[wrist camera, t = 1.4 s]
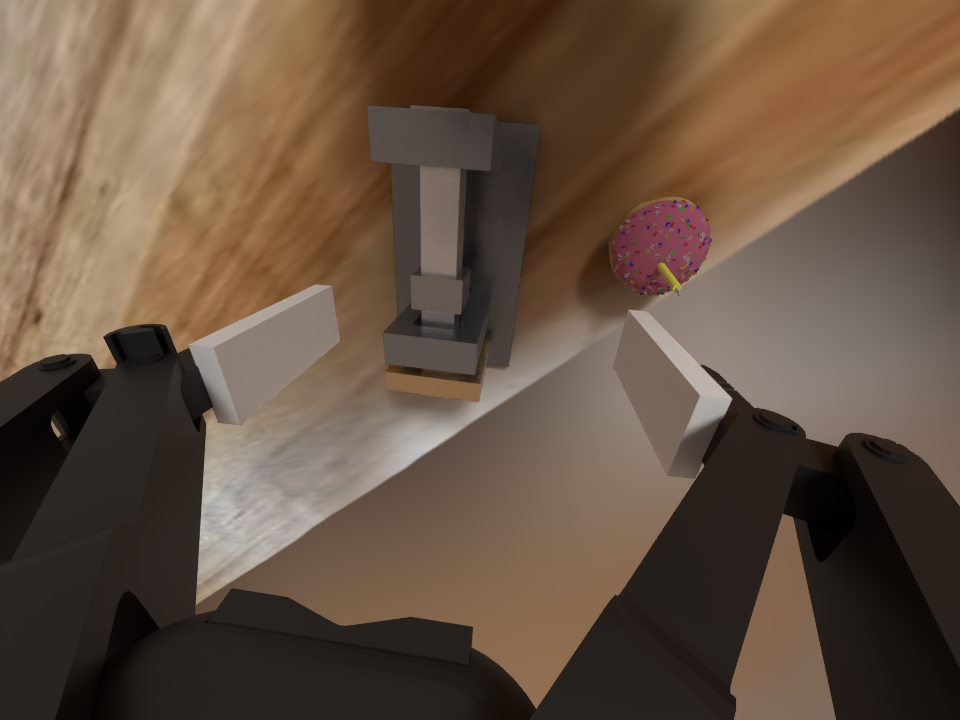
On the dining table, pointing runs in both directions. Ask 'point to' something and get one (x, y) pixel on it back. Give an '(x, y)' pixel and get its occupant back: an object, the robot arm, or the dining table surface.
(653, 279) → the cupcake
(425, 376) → the block
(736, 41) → the dining table surface
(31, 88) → the dining table surface
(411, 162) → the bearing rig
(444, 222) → the shaft
